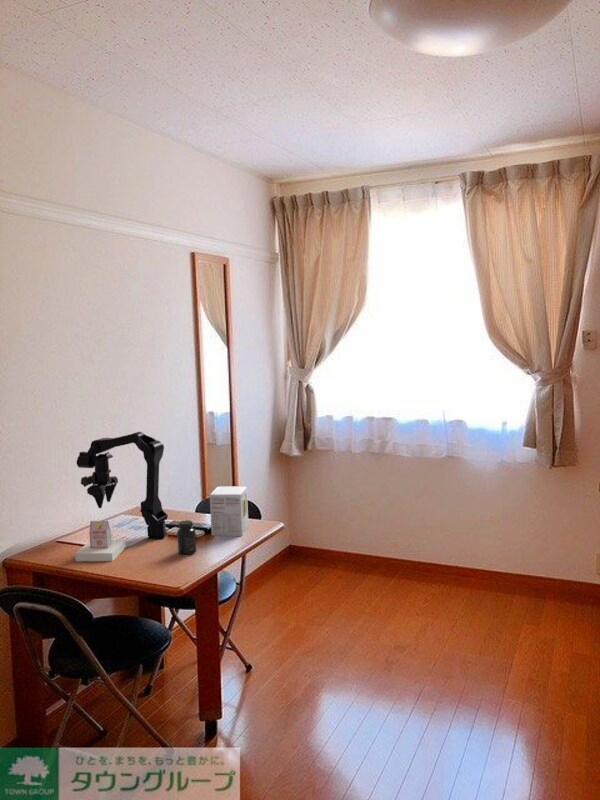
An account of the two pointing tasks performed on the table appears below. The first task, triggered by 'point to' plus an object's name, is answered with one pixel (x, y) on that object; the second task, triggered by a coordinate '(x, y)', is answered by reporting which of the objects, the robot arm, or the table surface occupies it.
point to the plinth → (100, 552)
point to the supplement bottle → (186, 538)
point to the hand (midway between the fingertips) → (104, 504)
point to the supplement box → (229, 511)
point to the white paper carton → (100, 534)
